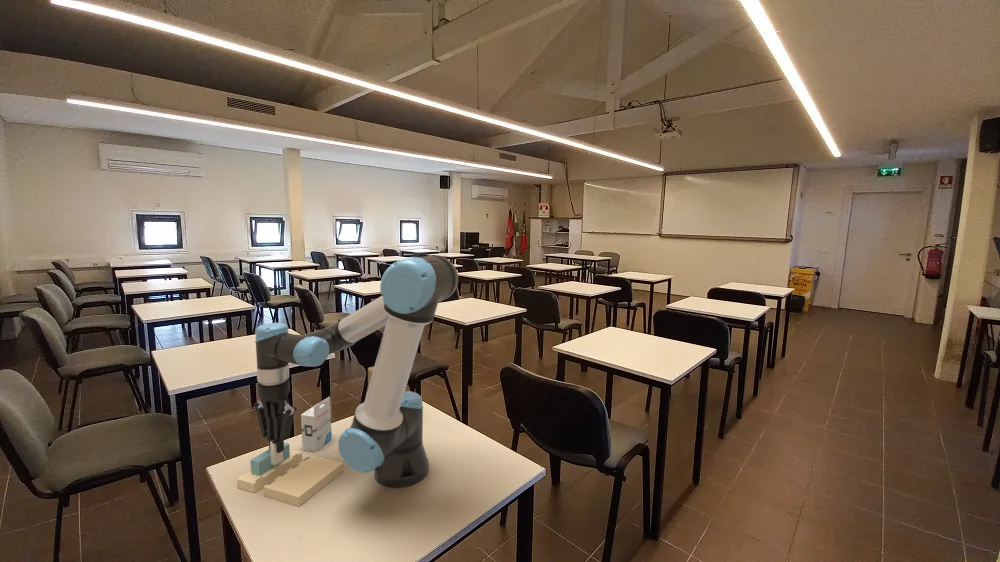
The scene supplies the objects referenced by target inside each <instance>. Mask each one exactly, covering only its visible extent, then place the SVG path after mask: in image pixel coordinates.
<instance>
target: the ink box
mask: <svg viewBox="0 0 1000 562" xmlns="http://www.w3.org/2000/svg"><path fill="white" fill-rule="evenodd" d="M331 409H332V406H331V397H330V396H328V397H327V398H324V399H323V400H322V401H321V402H318V403H316V404H315V405H313V406H312V407H311V408H308V409H307V410H306V411H304V412H303V413H301V414H300V420H301V421H300V422H301V424H300V425H301V426H300V427H301V448H302V451H309V452H318V451H319V450H320V449H321V448H322V447H324V446H325V445H326V444H327V443H328V442H329V441H330V440H332V435H333V434H332V410H331Z"/></svg>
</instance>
